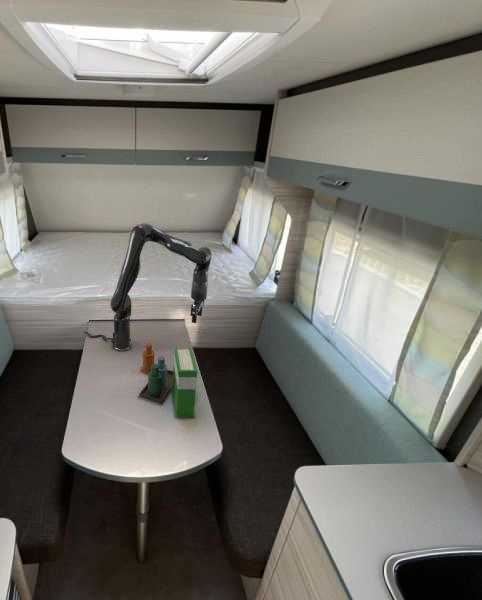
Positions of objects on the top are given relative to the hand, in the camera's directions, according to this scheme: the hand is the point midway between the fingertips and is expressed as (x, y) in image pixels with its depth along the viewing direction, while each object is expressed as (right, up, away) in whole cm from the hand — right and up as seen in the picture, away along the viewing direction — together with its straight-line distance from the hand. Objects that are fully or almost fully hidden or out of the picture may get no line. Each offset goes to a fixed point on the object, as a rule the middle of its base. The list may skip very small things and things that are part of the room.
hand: (196, 319), depth 162 cm
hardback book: (-9, -38, -14) cm, 41 cm away
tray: (-18, -33, -3) cm, 38 cm away
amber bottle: (-24, -28, +9) cm, 38 cm away
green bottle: (-21, -35, -9) cm, 42 cm away
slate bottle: (-18, -32, -3) cm, 37 cm away
